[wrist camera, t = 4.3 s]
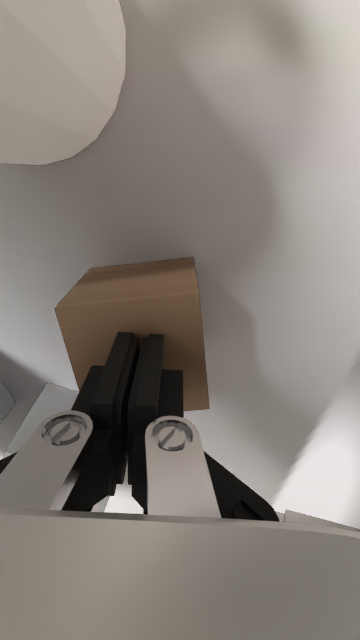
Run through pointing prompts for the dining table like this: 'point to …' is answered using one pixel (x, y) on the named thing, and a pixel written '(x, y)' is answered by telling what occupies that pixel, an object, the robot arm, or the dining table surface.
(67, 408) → the block one
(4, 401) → the block two
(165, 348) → the plain block
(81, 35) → the mug
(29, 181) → the dining table surface
